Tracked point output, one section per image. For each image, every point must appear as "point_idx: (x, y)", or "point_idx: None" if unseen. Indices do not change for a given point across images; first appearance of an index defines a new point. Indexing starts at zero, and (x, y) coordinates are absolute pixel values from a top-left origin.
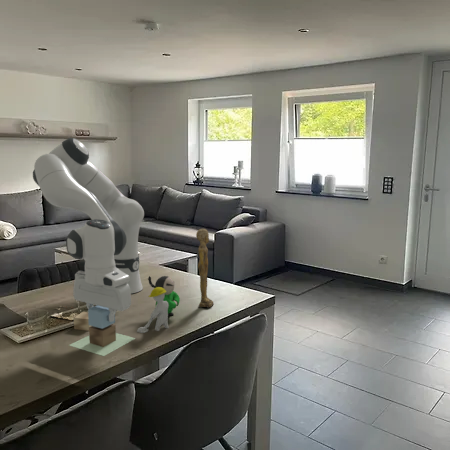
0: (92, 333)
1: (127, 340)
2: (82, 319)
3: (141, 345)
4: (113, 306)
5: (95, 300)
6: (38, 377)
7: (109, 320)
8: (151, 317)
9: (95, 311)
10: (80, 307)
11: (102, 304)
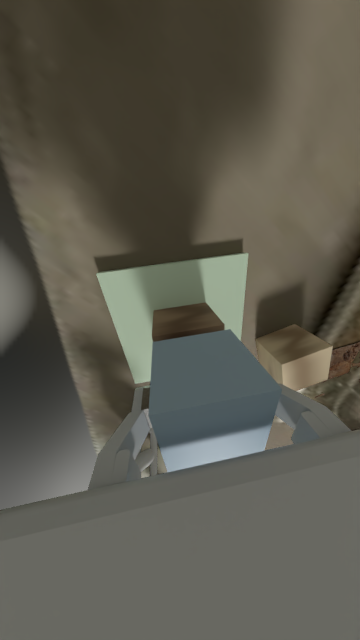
0: (201, 318)
1: (139, 367)
2: (300, 355)
3: (107, 374)
4: (7, 554)
5: (275, 521)
6: None
7: (139, 390)
8: (145, 452)
9: (209, 400)
10: (346, 389)
11: (170, 503)
